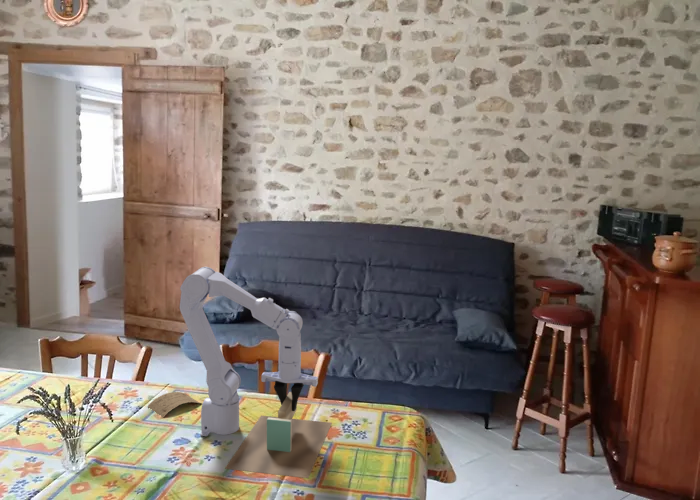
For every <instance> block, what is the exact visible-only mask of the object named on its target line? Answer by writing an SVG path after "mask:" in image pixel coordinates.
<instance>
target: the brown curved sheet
mask: <svg viewBox="0 0 700 500" xmlns="http://www.w3.org/2000/svg"><path fill="white" fill-rule="evenodd" d="M187 403H195V404H196V403H197V404H201V405H202V404H203V402H202V403H201V402H200V403H199V401H197V400H196V399H194V398H193V397H191V396H189V395H187V394H186V393H184V392H180V391H174V392H168V393H164V394H162V395H159V396H158V397H156V398H155V399H153V400H152V401H151V402H150V403H149V404H148V405H147V408H148V407H149V408H150V409H149V408H148V409H149V410H151V409H152V410H151V411H152V412H154V411H155V412H156V414H157V415H158V414H159V415H158V416H160V415H161V416H160V417H161V418H164V417H165V416H166V415H168V413H169V412H171V411H172V410H173V409H175V408H177V407H178V406H180V405H182V404H187ZM155 412H154V413H155Z"/></svg>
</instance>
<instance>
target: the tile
mask: <svg viewBox="0 0 700 500" xmlns="http://www.w3.org/2000/svg"><path fill="white" fill-rule="evenodd" d="M267 450H276V451H285V452H291V450H292V420H290V419H280V418H270V417H268V418H267Z"/></svg>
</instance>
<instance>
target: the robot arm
mask: <svg viewBox="0 0 700 500" xmlns="http://www.w3.org/2000/svg"><path fill="white" fill-rule="evenodd" d="M179 289H180V292H181V293H180V301H179V310H180V314H181V315H182V318H183V320H184V323H185V325H186V327H187V329H188V331H189V333H190V336H191V338H192V341H193V343H194V345H195V347H196V350H197V353H198V354H199V356H200V358H201V361H202V364H203V366H204V367H205V370H206V381H205V382H206V384H207V387H208V392H207V394H208V397H205V398H204V400H203V402H202V404H201V410H200V419H201V420H200V424H201V425H200V426H201V432H200V434H199V435H200V436H201V437H208V436H209V434H210V433H212V434H217V435H230V434H233V433H236V432H238V431H239V429H240V396H239V393H238V389H239V388H240V386H241V384H242V379H241V375H240V374H239V373H238V372H236V370H235V369H234V368H233V366H232V364H231V363H230V362H228V361H226V359H225V357H224V355H223V351H222V349H221V348H220V345H219V343H218V341H217V338H216V336H215V334H214V331H213V328H212V327H211V324H210V322H209V320H208V318H207V315H206V313H205V310H204V309H203V305H204V303H205V302H206V299H207V297H209V298H212V297H221V296H222V297H225V298H226V299H229V300H231V301H233V302H234V303H236V304H238V305H241V306H242V307H244V308H246V309H248V310H250V312H251V316H252V317H253V319H256V320H257V321H259V322H261V323H263V324H264V325H266V326H267V327H269V328H271V329H272V330H275V331H276V333H277V336H278V337H279V338H278V341H279V342H278V371H274V372H273V371H268V372H267V371H264V372H262V374H261V383H262V382H263V383H266V382H273V383H274V385H273V389H274V391H275V393H276V394H277V397H278V398H279V402H280V406H281V405H282V404H283V402H284V400H285V398H286V397H287V395H288V384H293V385H292V386H291V388H290V392H292V411H295V410H296V406H297V405H298V400H299V397H300V395H301V392H302V390H303V389H304V385H305V386H312V387H317V386H318V384H319V378H318V376H314V375H310V374H305V373H302V372H301V370H302V369H301V368H302V365H301V364H302V341H301V339H302V337H301V330H302V328H303V323H304V322H303V318H302V316H301V315H300V314H299V313H297V311H294V310H290V309H288V308H286V309H285V308H283V307H282V306H280V305H278V304H276V302H274V299H273V298H271V297H268V299H267V298H266V297H260V298H259V297H255V296H254V295H253V294H251V293H250V292H248V291H247V290H245V289H244V288H242V287H240V285H238V284H236V283H235V282H233V281H232V280H230V279H228V278H227V277H226V276H225V275H224V274H223V273H221V272H219V271H216V270H215V269H213V268H212V267H209V266H202V267H200V268H199V269H196V271H194V272H193V273H192V274H188V275H187V276H186V278H185V279H184V280H183V282H182V283H181V286H180V287H179ZM297 407H298V406H297ZM296 411H297V410H296Z"/></svg>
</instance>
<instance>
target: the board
mask: <svg viewBox="0 0 700 500" xmlns="http://www.w3.org/2000/svg"><path fill="white" fill-rule="evenodd" d="M268 417H270V418H278V416H268V415H260V416H259V418H258V420H257V421H256V423H255V424H254V425H253V426H252V428H251V430H250V431H249V433H248V434H247V435H246V437H245V438H244V440H243V441H242V443H241V444H240V446H239V447H238V448H237V450H235V451H236V452H235V453H234V454H233V456H231V459H230V460H229V461H228V463H227V465H225V467H224V469H226V470H234V471H242V472H243V471H244V472H251V473H260V474H268V475H278V476H284V477H285V476H286V477H295V478H302V479H303V478H304V479H309V477H310V475H311V473H312V470H313V468H314V467H315V464H316V461H317V459H318V457H319V453H320V452H321V449H322V447H323V445H324V442H325V440H326V438H327V435H328V433H329V431H330V428H331V425H332V422H327V421H319V420H309V419H298V418H292V450H291V452H285V451H276V450H267V418H268Z"/></svg>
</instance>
